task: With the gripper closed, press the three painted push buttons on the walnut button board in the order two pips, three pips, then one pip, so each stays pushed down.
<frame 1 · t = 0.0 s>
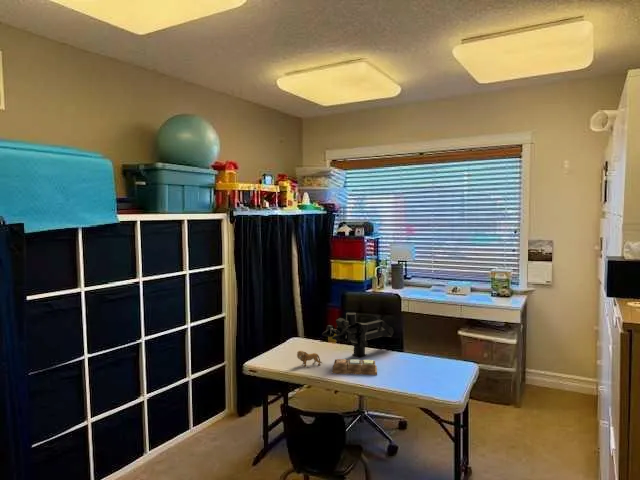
hand: (327, 336, 251), 17 cm above the table, tool horizontal, fingers open, 9 cm apart
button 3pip: (341, 362, 242), point 5 cm above the table, slide at 0.0 cm
button board: (354, 370, 242), on the table
button 2pip: (368, 363, 241), point 5 cm above the table, slide at 0.0 cm
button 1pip: (354, 362, 242), point 5 cm above the table, slide at 0.0 cm
lion figurine: (308, 365, 251), on the table
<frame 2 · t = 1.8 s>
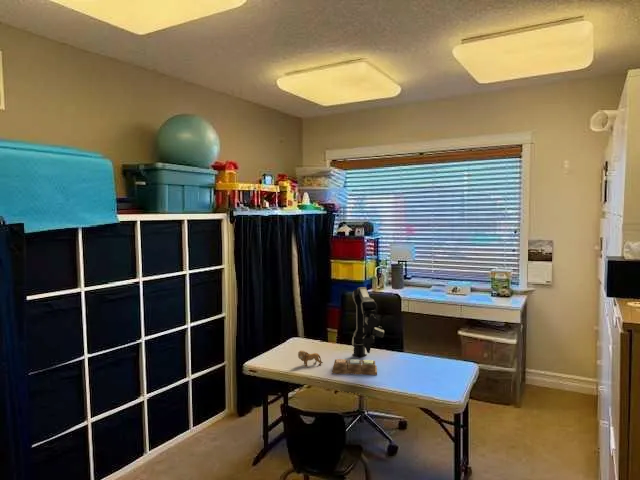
hand: (368, 351, 240), 11 cm above the table, tool pointing down, fingers open, 5 cm apart
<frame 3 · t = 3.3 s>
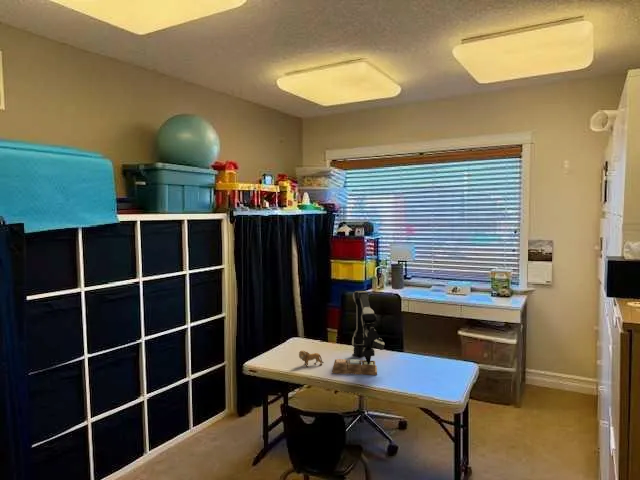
hand: (368, 363, 241), 4 cm above the table, tool pointing down, fingers closed, pressing on button 2pip
button 2pip: (368, 365, 241), point 3 cm above the table, slide at 1.2 cm, touching gripper
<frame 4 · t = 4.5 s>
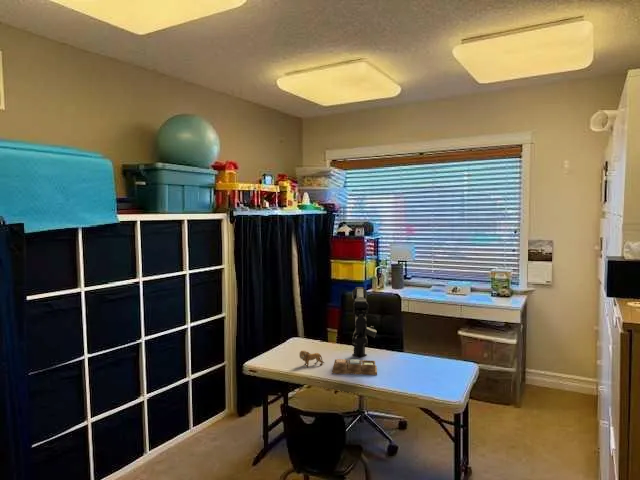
hand: (360, 351, 241), 11 cm above the table, tool pointing down, fingers closed
button 2pip: (368, 365, 241), point 3 cm above the table, slide at 1.5 cm
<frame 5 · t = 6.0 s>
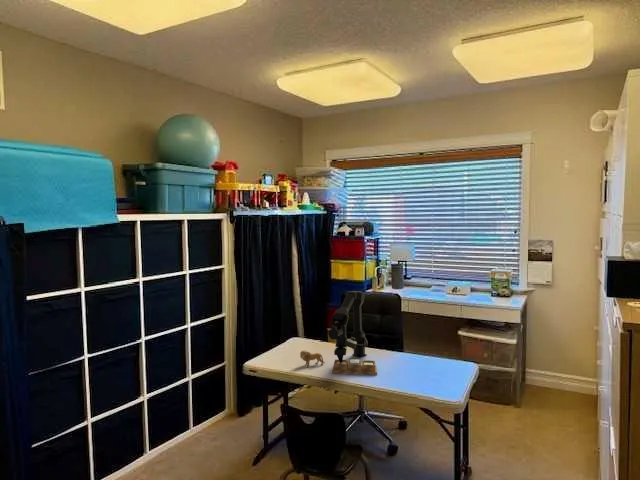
hand: (341, 362, 242), 4 cm above the table, tool pointing down, fingers closed, pressing on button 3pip
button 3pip: (341, 364, 242), point 3 cm above the table, slide at 1.4 cm, touching gripper
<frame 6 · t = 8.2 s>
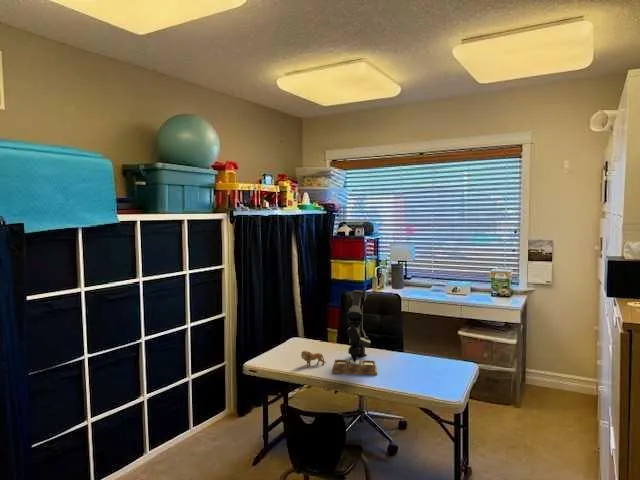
hand: (354, 361, 242), 5 cm above the table, tool pointing down, fingers closed, pressing on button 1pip
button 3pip: (341, 365, 242), point 3 cm above the table, slide at 1.6 cm
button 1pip: (354, 363, 242), point 4 cm above the table, slide at 0.6 cm, touching gripper
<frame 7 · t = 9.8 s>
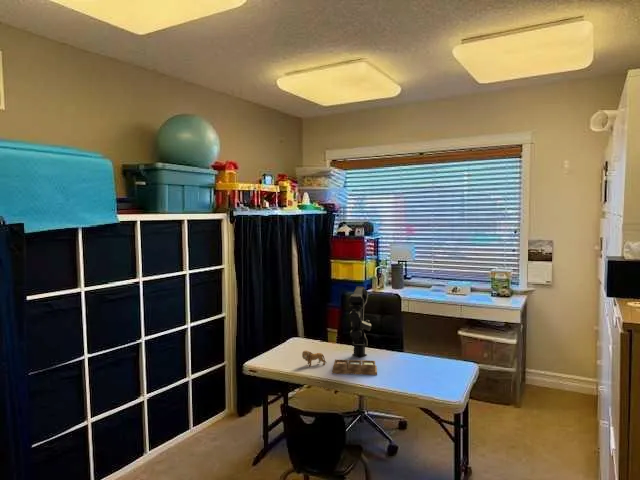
hand: (356, 344, 252), 11 cm above the table, tool pointing down, fingers closed
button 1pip: (354, 365, 242), point 3 cm above the table, slide at 1.6 cm
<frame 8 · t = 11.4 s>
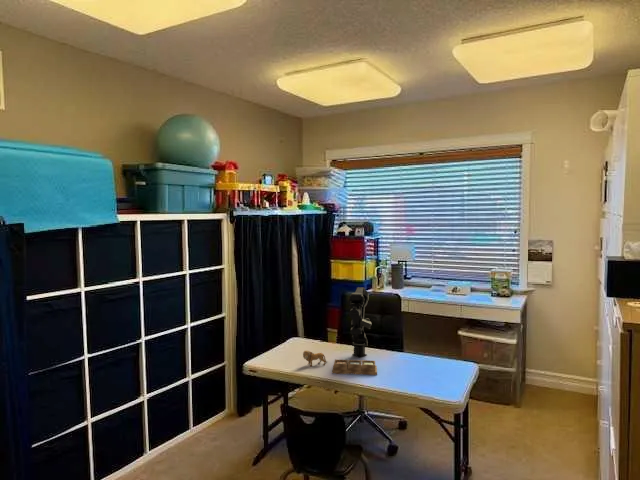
hand: (356, 342, 254), 12 cm above the table, tool pointing down, fingers closed
at the end: button 2pip slide at 1.5 cm; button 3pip slide at 1.6 cm; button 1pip slide at 1.6 cm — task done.
